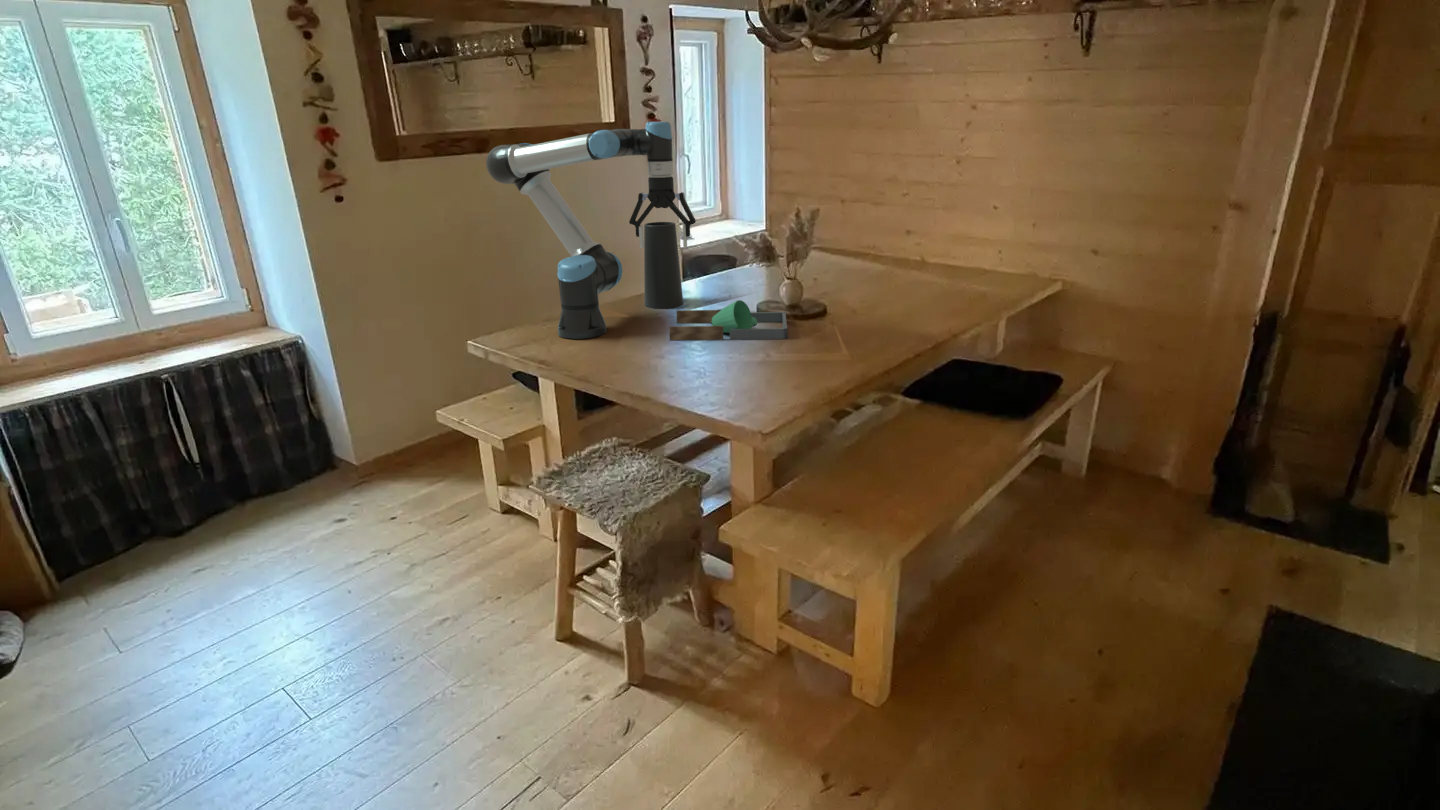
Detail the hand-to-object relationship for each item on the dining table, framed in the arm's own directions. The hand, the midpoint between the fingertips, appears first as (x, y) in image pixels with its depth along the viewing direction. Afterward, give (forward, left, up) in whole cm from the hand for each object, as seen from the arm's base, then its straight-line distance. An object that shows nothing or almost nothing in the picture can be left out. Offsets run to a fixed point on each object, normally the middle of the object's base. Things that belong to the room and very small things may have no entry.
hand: (663, 247), depth 245 cm
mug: (+17, -7, -23) cm, 30 cm away
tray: (+29, -7, -25) cm, 39 cm away
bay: (+11, -7, -25) cm, 28 cm away
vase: (-4, +27, -25) cm, 37 cm away
